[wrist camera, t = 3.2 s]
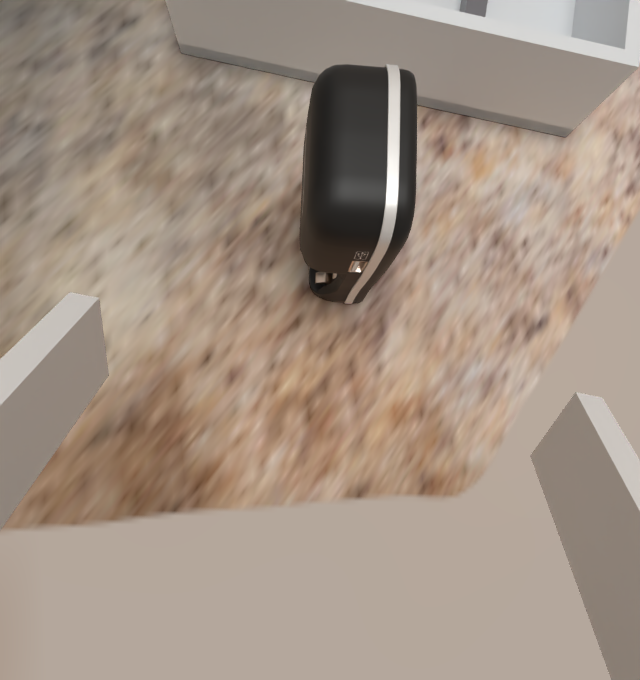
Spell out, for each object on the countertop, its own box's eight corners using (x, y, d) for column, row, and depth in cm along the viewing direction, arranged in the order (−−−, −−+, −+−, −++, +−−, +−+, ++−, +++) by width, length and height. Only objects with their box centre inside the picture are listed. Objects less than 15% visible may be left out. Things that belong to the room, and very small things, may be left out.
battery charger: (301, 188, 27) (310, 31, 15) (365, 192, 27) (420, 40, 16) (295, 305, 26) (301, 228, 14) (362, 308, 26) (419, 235, 15)
